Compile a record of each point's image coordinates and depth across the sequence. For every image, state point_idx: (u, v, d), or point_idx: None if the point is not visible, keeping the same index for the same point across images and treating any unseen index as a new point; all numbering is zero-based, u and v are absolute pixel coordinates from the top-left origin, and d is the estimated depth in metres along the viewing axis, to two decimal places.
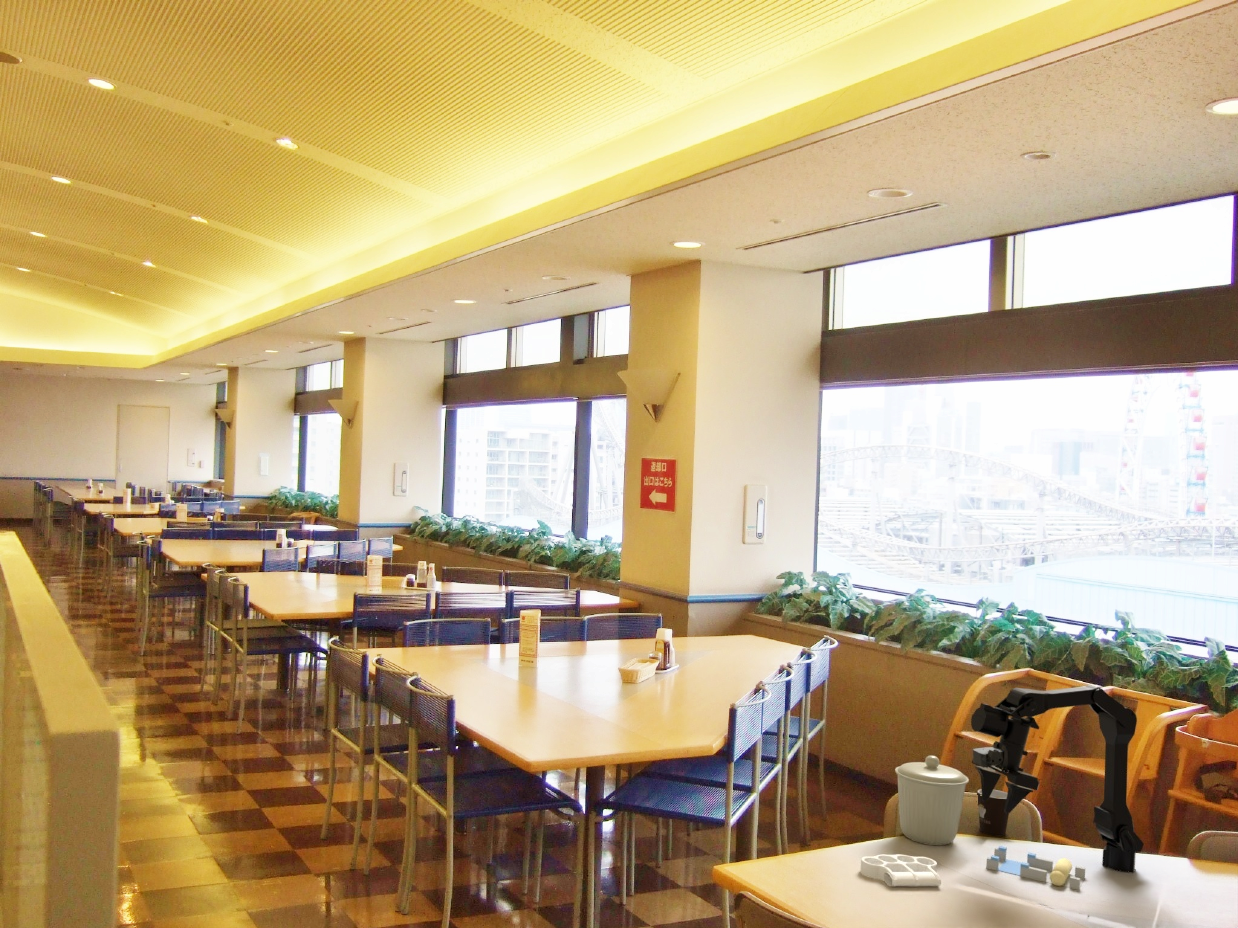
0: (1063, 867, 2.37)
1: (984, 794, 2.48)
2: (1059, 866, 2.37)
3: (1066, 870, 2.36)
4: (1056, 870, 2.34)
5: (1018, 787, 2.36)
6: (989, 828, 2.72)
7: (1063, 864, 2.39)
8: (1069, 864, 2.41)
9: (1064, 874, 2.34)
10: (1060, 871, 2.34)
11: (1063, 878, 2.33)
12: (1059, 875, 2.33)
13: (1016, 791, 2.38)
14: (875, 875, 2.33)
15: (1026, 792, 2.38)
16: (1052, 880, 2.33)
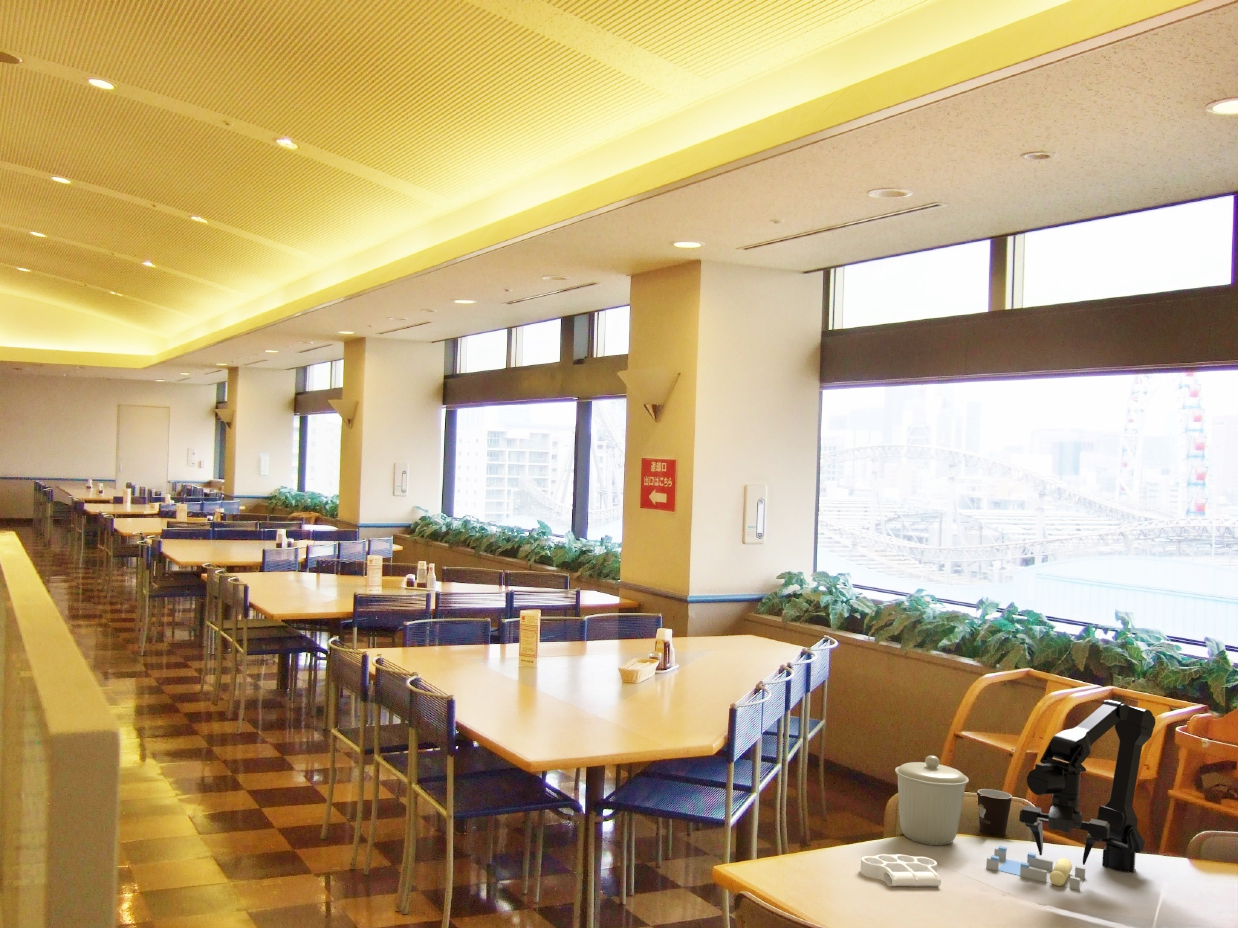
0: (1063, 867, 2.37)
1: None
2: (1059, 866, 2.37)
3: (1066, 870, 2.36)
4: (1056, 870, 2.34)
5: (1101, 839, 2.34)
6: (989, 828, 2.72)
7: (1063, 864, 2.39)
8: (1069, 864, 2.41)
9: (1064, 874, 2.34)
10: (1060, 871, 2.34)
11: (1063, 878, 2.33)
12: (1059, 875, 2.33)
13: None
14: (874, 875, 2.33)
15: None
16: (1052, 880, 2.33)
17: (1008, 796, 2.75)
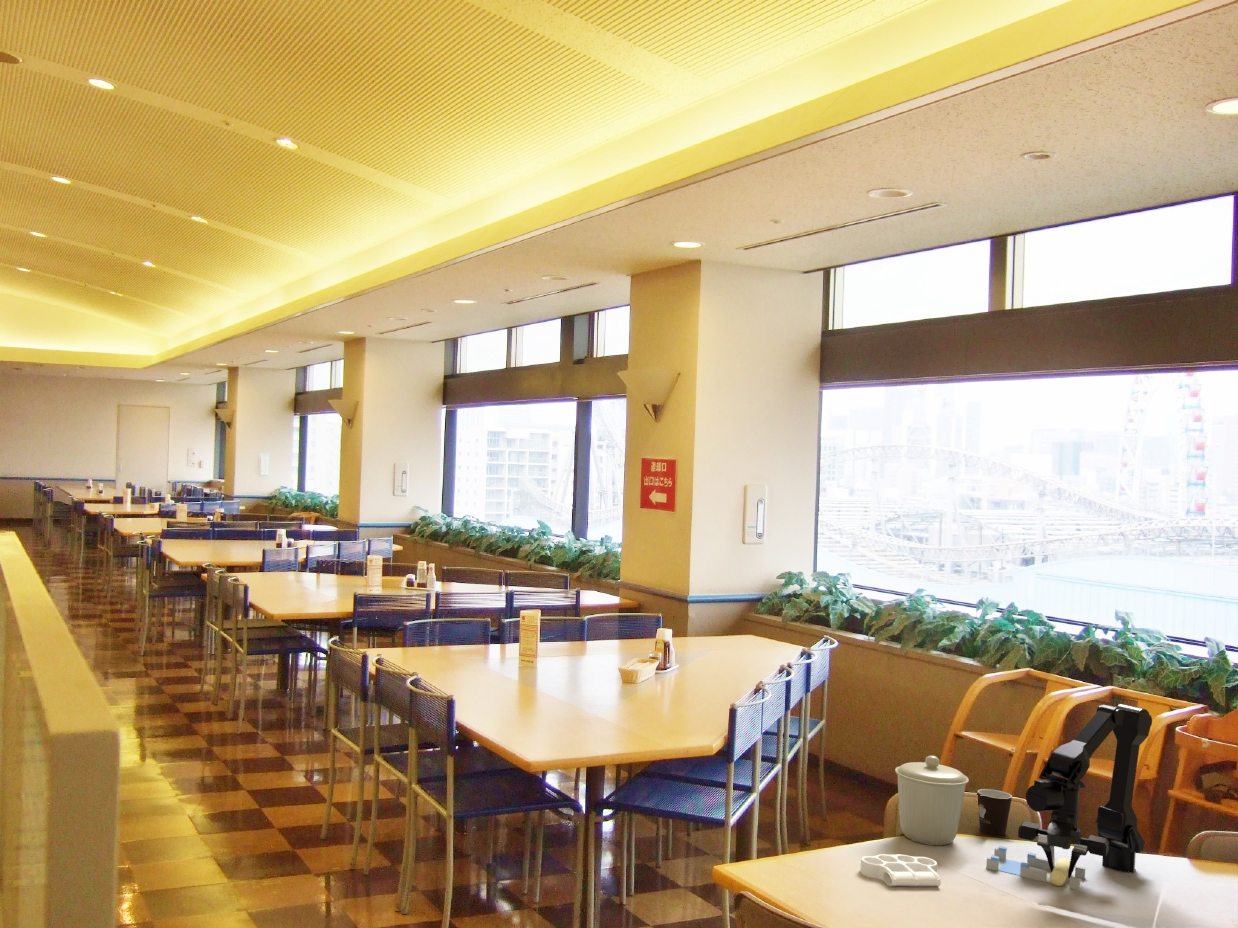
0: (1063, 867, 2.37)
1: None
2: (1059, 866, 2.37)
3: (1066, 870, 2.36)
4: (1056, 870, 2.34)
5: (1086, 853, 2.35)
6: (989, 828, 2.72)
7: (1063, 864, 2.39)
8: (1069, 864, 2.41)
9: (1064, 874, 2.34)
10: (1060, 871, 2.34)
11: (1063, 878, 2.33)
12: (1059, 875, 2.33)
13: None
14: (874, 875, 2.33)
15: None
16: (1052, 880, 2.33)
17: (1008, 796, 2.75)
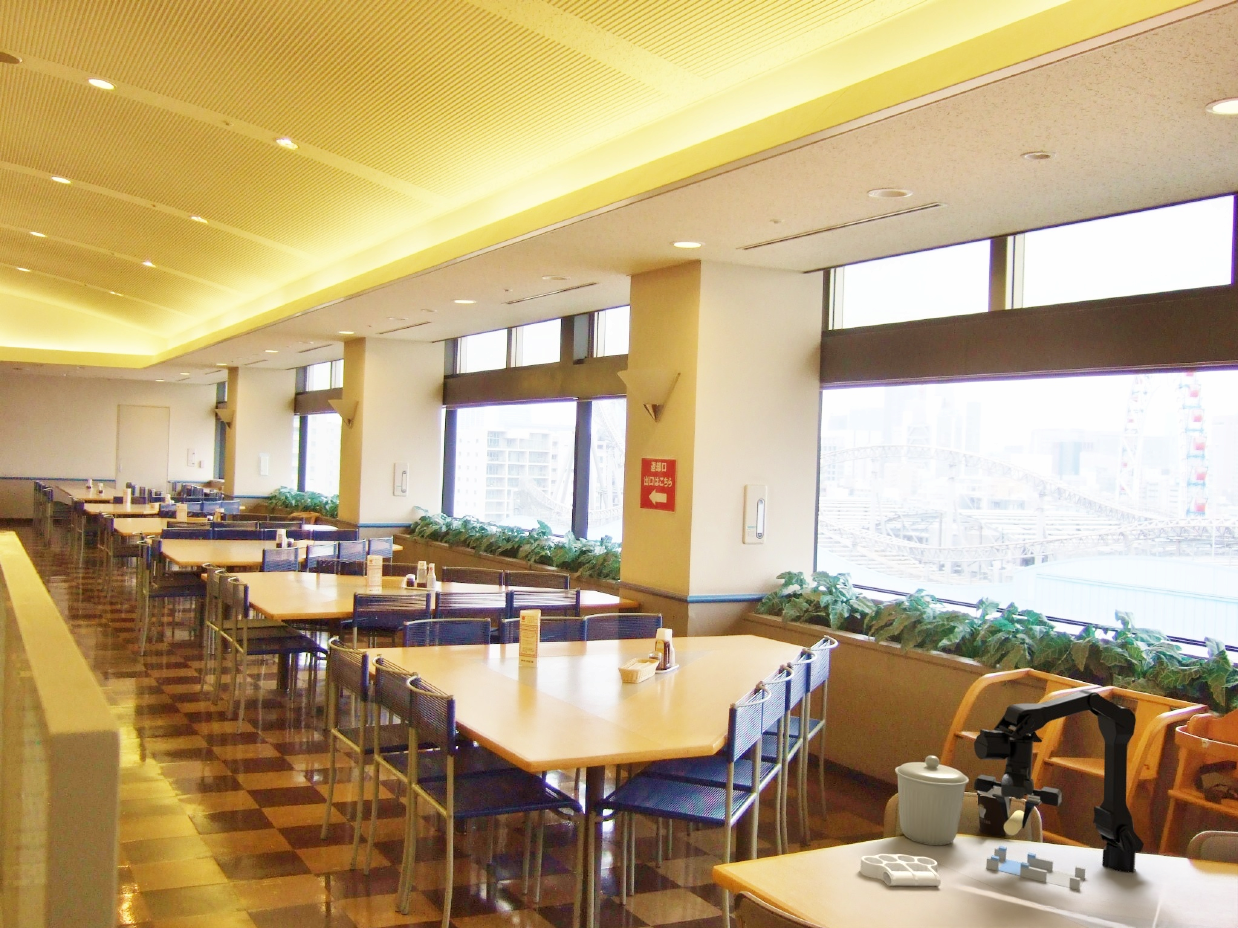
0: (1017, 817, 2.43)
1: (1007, 818, 2.45)
2: (1013, 817, 2.43)
3: (1020, 821, 2.42)
4: (1010, 820, 2.40)
5: (1039, 803, 2.41)
6: (989, 828, 2.72)
7: (1018, 815, 2.44)
8: None
9: (1018, 824, 2.40)
10: (1014, 821, 2.40)
11: (1016, 828, 2.38)
12: (1012, 825, 2.38)
13: None
14: (874, 875, 2.33)
15: None
16: (1006, 830, 2.39)
17: None
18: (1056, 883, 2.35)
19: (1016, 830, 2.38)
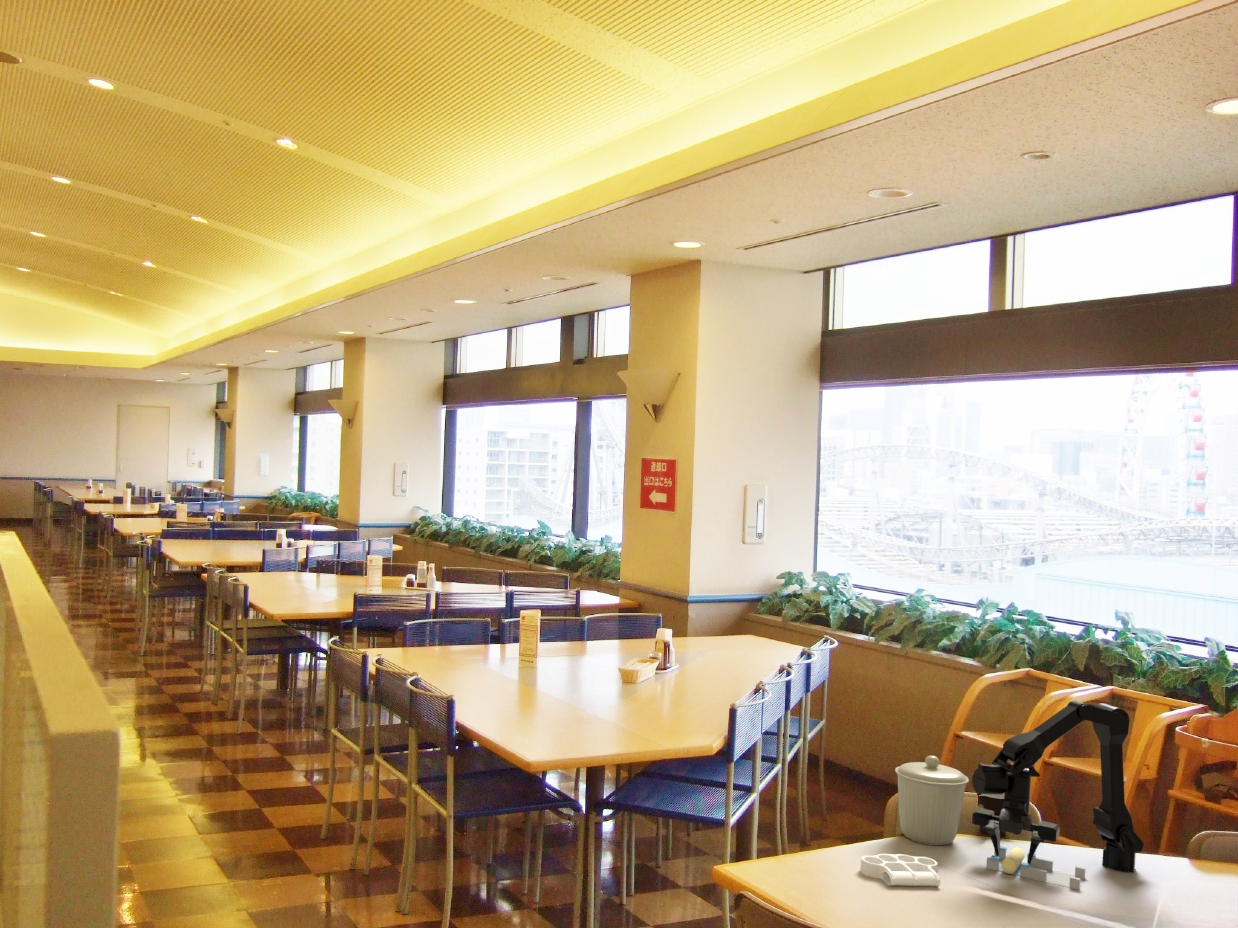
0: (1015, 855, 2.43)
1: None
2: (1011, 855, 2.43)
3: (1017, 859, 2.42)
4: (1007, 858, 2.40)
5: (1045, 840, 2.39)
6: None
7: (1015, 853, 2.44)
8: (1021, 853, 2.46)
9: (1015, 862, 2.39)
10: (1011, 859, 2.39)
11: (1014, 866, 2.38)
12: (1010, 863, 2.38)
13: None
14: (874, 874, 2.33)
15: None
16: (1003, 868, 2.39)
17: None
18: (1056, 883, 2.35)
19: (1014, 869, 2.38)
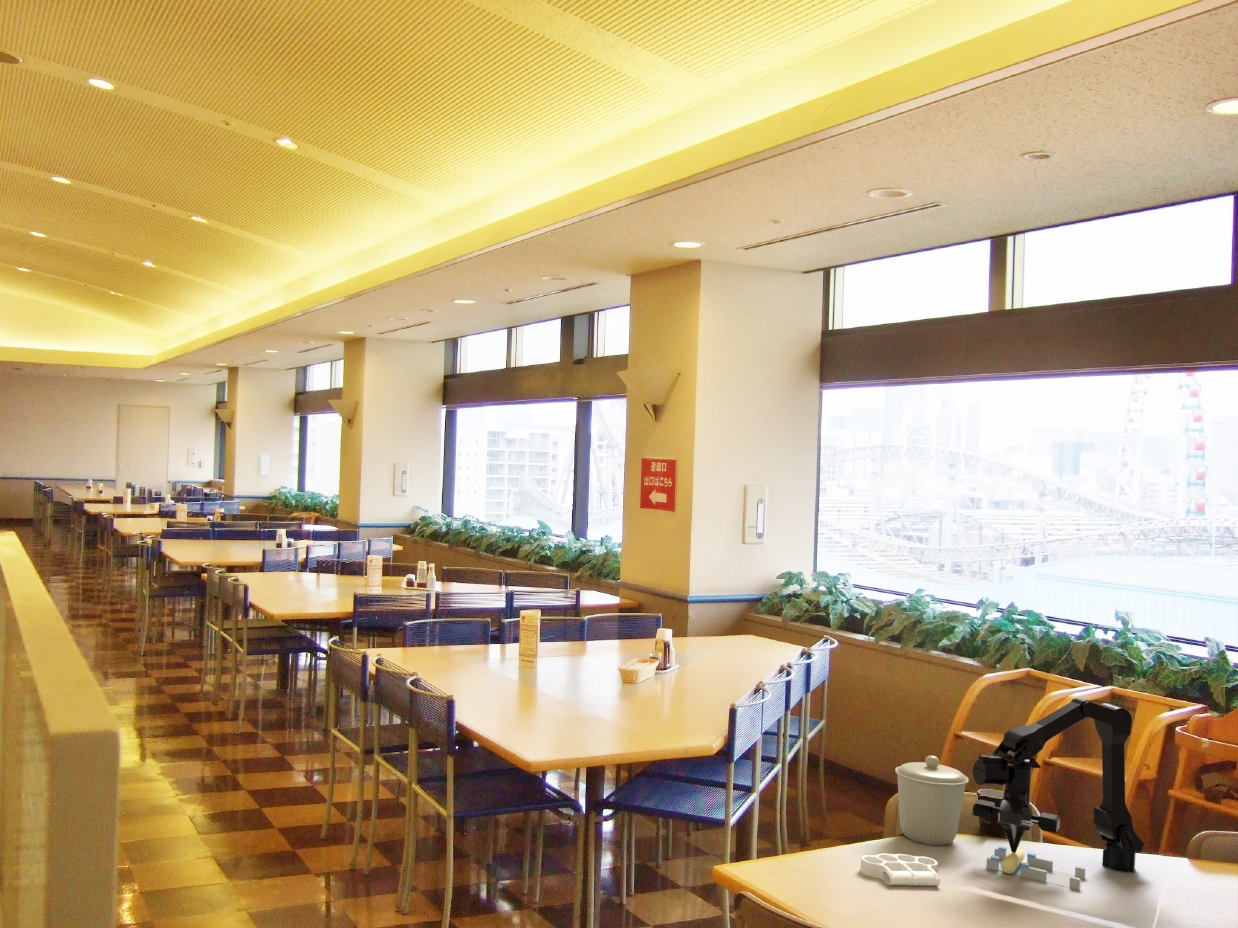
0: (1014, 855, 2.43)
1: None
2: (1010, 855, 2.43)
3: (1017, 858, 2.42)
4: (1007, 858, 2.40)
5: (1030, 828, 2.41)
6: (989, 828, 2.72)
7: None
8: (1021, 852, 2.46)
9: (1015, 862, 2.39)
10: (1010, 859, 2.39)
11: (1013, 866, 2.38)
12: (1009, 863, 2.38)
13: None
14: (874, 874, 2.34)
15: None
16: (1003, 868, 2.39)
17: None
18: (1056, 883, 2.35)
19: (1013, 868, 2.38)
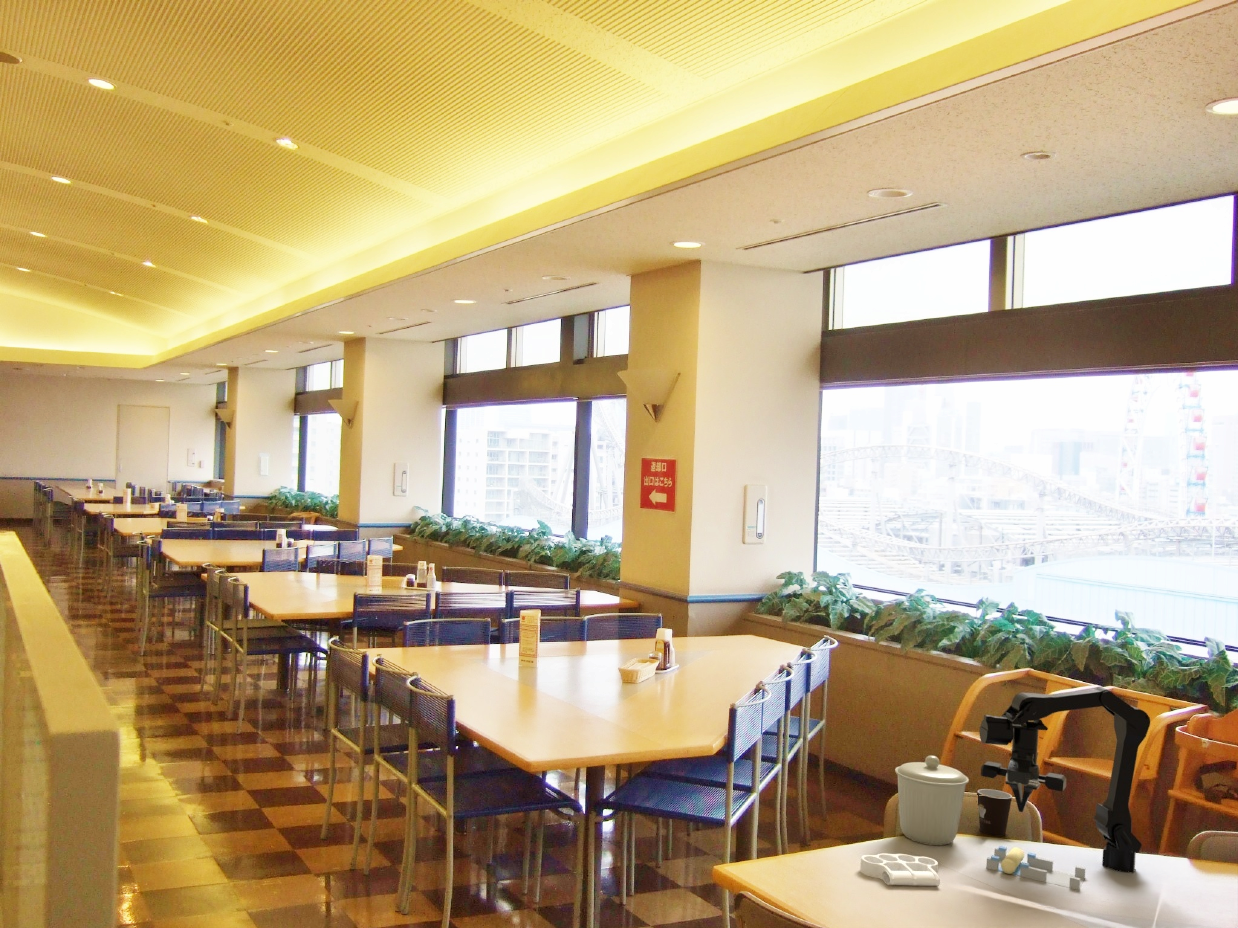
0: (1014, 855, 2.43)
1: None
2: (1010, 855, 2.43)
3: (1016, 858, 2.42)
4: (1006, 858, 2.40)
5: (1037, 787, 2.47)
6: (989, 828, 2.72)
7: (1014, 852, 2.44)
8: (1021, 852, 2.46)
9: (1014, 862, 2.39)
10: (1010, 859, 2.40)
11: (1013, 866, 2.38)
12: (1009, 863, 2.38)
13: None
14: (874, 874, 2.34)
15: None
16: (1003, 868, 2.39)
17: (1008, 796, 2.75)
18: (1056, 883, 2.35)
19: (1013, 868, 2.38)
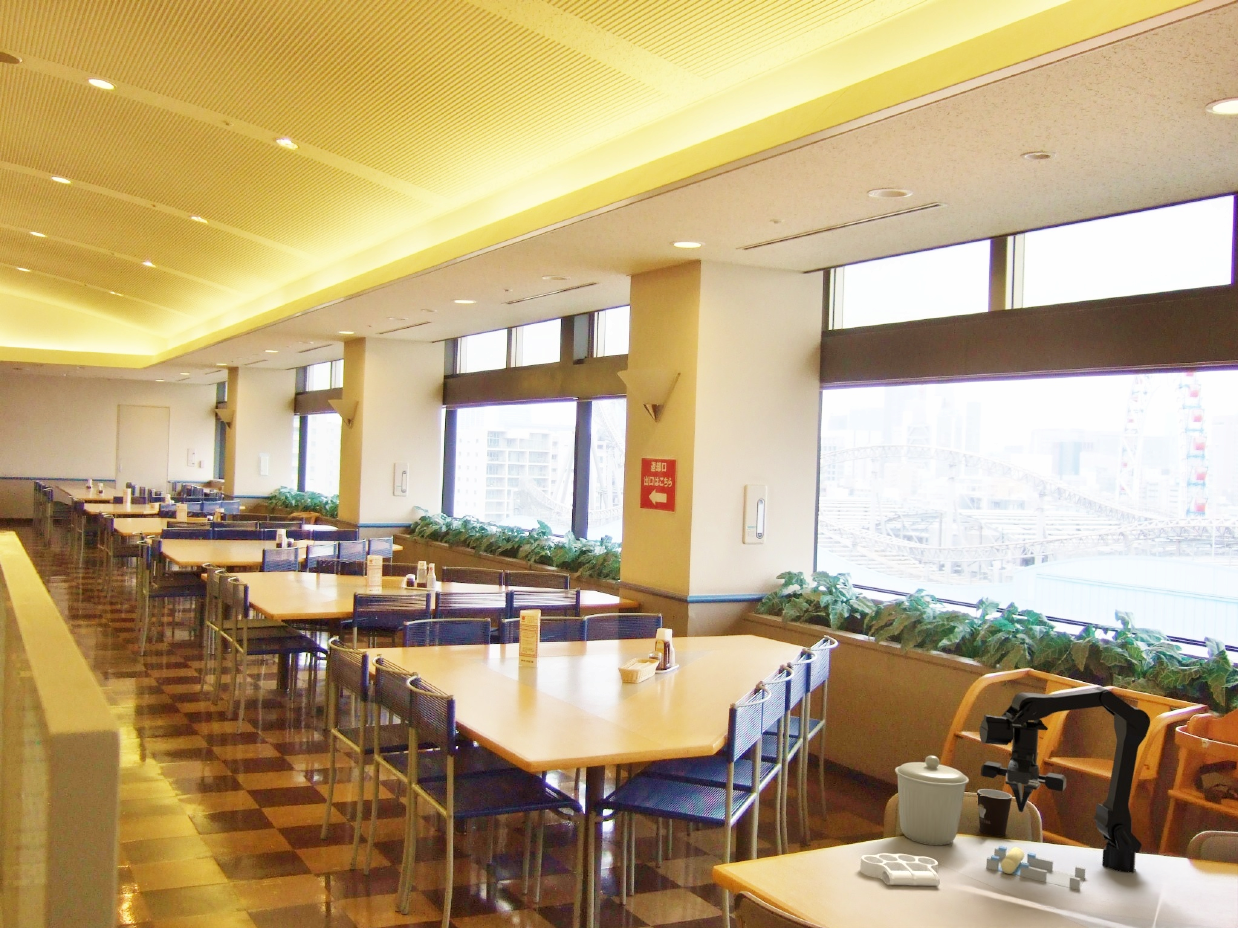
0: (1014, 855, 2.43)
1: None
2: (1010, 854, 2.43)
3: (1016, 858, 2.42)
4: (1006, 858, 2.40)
5: (1037, 787, 2.47)
6: (989, 828, 2.72)
7: (1014, 852, 2.44)
8: (1020, 852, 2.46)
9: (1014, 862, 2.39)
10: (1010, 859, 2.40)
11: (1013, 865, 2.38)
12: (1009, 863, 2.38)
13: None
14: (873, 874, 2.34)
15: None
16: (1003, 868, 2.39)
17: (1008, 796, 2.75)
18: (1056, 883, 2.35)
19: (1013, 868, 2.38)
